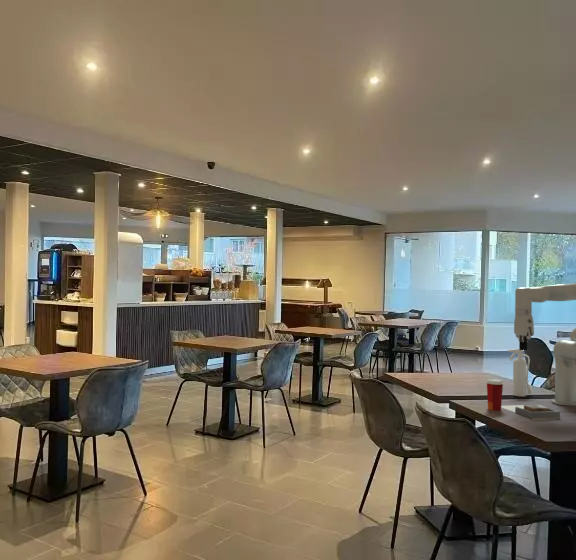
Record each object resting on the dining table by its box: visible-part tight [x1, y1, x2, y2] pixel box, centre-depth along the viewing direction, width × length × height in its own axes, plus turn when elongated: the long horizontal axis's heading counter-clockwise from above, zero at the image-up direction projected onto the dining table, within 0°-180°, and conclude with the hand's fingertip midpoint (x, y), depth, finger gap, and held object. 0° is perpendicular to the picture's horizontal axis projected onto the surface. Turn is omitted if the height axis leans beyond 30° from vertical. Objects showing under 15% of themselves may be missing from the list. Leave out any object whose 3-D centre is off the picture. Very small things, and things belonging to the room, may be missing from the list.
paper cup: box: [485, 378, 504, 412], centre depth 272 cm, size 8×8×14 cm
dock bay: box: [501, 404, 561, 420], centre depth 269 cm, size 14×27×3 cm, turn 12°
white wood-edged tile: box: [524, 404, 549, 412], centre depth 261 cm, size 8×7×4 cm
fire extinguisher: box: [508, 348, 534, 397], centre depth 314 cm, size 7×12×25 cm, turn 79°
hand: (523, 349), depth 287 cm, fingers closed
